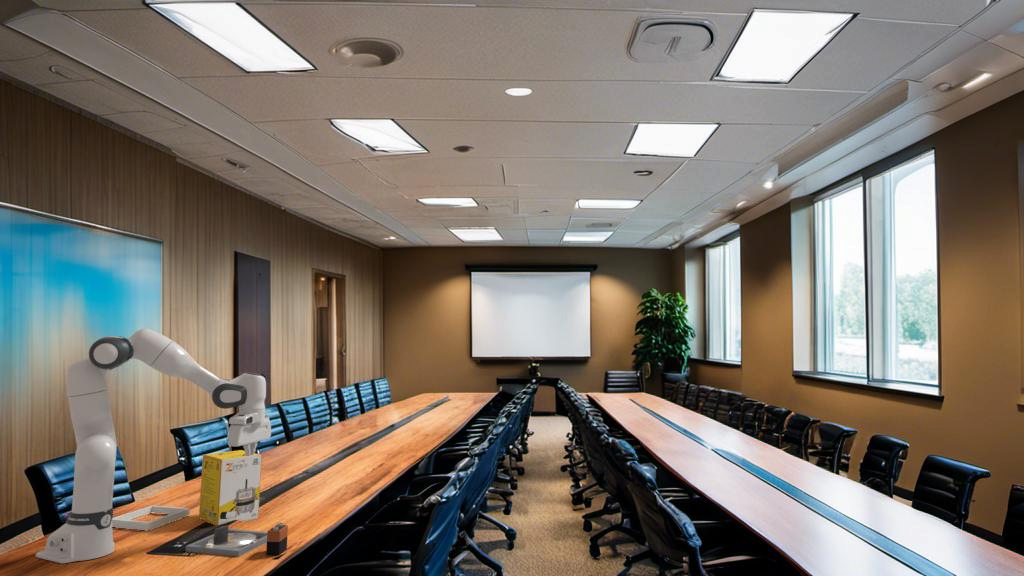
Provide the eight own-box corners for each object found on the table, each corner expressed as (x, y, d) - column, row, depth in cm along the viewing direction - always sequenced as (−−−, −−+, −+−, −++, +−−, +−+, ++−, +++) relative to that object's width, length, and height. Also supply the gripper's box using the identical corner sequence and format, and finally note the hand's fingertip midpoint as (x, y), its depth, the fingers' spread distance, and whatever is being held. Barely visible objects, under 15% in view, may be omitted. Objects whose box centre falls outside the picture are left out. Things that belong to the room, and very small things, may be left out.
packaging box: (238, 510, 253) (242, 449, 256) (258, 518, 243) (261, 454, 246) (198, 518, 241) (202, 454, 243) (217, 526, 231) (221, 459, 233)
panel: (185, 555, 199) (186, 542, 199) (226, 537, 218) (226, 525, 219) (238, 560, 195) (239, 548, 195) (275, 541, 214) (276, 530, 215)
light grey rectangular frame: (107, 527, 228) (108, 519, 228) (151, 512, 248) (152, 505, 248) (147, 531, 224) (148, 522, 224) (189, 516, 244) (189, 508, 245)
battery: (287, 553, 203) (288, 522, 204) (278, 560, 196) (280, 528, 197) (274, 552, 203) (275, 521, 204) (265, 559, 196) (266, 527, 197)
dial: (236, 535, 217) (237, 515, 217) (265, 541, 210) (266, 522, 210) (197, 546, 204) (199, 526, 204) (227, 554, 197) (228, 533, 197)
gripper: (261, 413, 233) (259, 450, 232) (225, 419, 213) (223, 459, 212) (276, 414, 232) (274, 451, 230) (241, 420, 212) (239, 460, 210)
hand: (249, 455), depth 221 cm, fingers closed
